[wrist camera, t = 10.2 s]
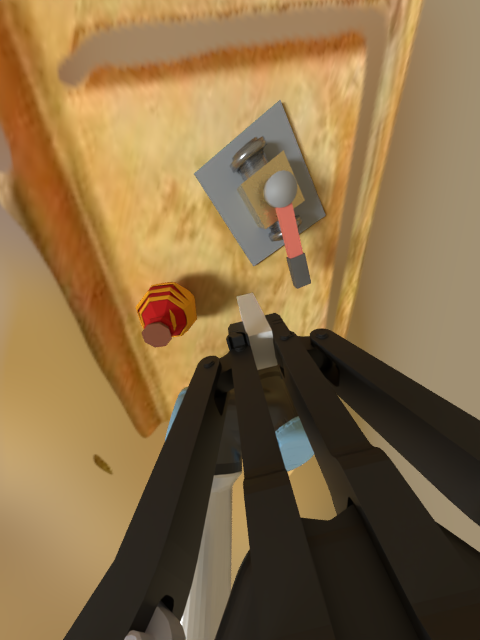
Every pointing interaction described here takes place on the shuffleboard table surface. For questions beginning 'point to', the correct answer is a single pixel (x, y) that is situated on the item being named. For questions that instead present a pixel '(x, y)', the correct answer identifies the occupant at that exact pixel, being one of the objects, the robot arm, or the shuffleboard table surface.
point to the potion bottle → (166, 313)
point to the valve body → (261, 184)
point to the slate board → (225, 182)
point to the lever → (288, 223)
